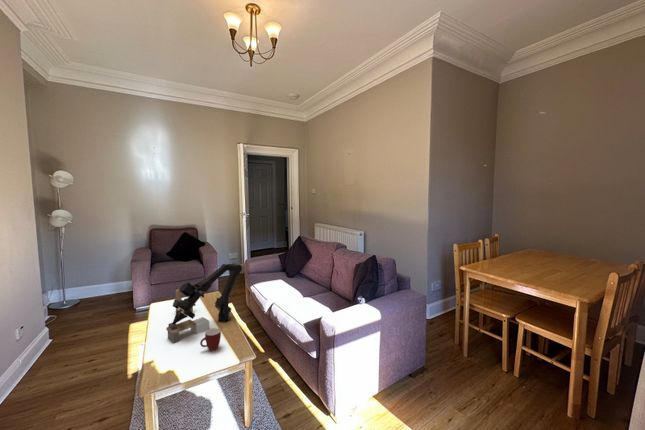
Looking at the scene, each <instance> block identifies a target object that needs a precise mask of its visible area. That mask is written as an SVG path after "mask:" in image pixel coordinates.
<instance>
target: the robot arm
mask: <svg viewBox="0 0 645 430" xmlns="http://www.w3.org/2000/svg"><path fill="white" fill-rule="evenodd" d="M242 270H243V266H242V265H241V264H239V263H236V262H234V263H223V264H221V266H220V267H218V268H217V269H216V270H215V271H214V272H212V273H211V274H210V275H209V276H207V277H206V278H203V279H201V280H200V281H198V282H197V283H195V284H193V285H192V283H190V282H189V281H187V282H186V283H183V284H182V285H181V286H180V287H179V288H178V289H179V292H181V295H182V294H183V296H185V298H184V299H182V300H179V299H176V298H175V299H174V300H173V303H172V307H174V308H175V317H174V319H173V321H172V323H173V324H175V323H176V324H178V323H180V321H182V320H184V319H186V318H188V317H189V318H190V319H191V320H192V319H193V320H194V319H195V317H196V314H195V312H194V311H193V312H191V308H192V307H193V308H194V307H196V303H197V302H198V301H199V299H200V298H205V295H204V294H205V292H208V291H209V289H211V287H212V285H213V284H214V282H215V281H216V280H218V279H219V278H220V277H221V276H222V275H223V274H226V272H227V271H228V278H227V280H226V283H225V285H224V288H223V291H222V294H221V296H220V297H217V298H216V301H215V302H214V304H215V305H214V307H215V308H216V309H217V311H218V314H217V315H218V316H217V317H218V321H217V322H218V323H222V322H223V323H228V322H229V321H230V319H231V318H232V317H231V316H230V315H231V314H230V313H231V311H232V307H230V306H229V303H230V300H229V298H230V296H231V295H230V294H231V292H232V289H233V287H234V284H235V282H236V279H237V278H238V276H240V274H241V272H242ZM176 309H177V310H176ZM183 310H184V311H183Z"/></svg>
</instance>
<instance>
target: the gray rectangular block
mask: <svg viewBox="0 0 645 430" xmlns="http://www.w3.org/2000/svg"><path fill="white" fill-rule="evenodd" d="M192 321H193V322H195V323H196V326H194V327H191V328H190V331H191V332H193V333H195V334H196V335H197V334H201V333H203V332H206V331H207V330H209V329H210V320H209V319H207V318H206V317H204V316H201V317H199V318H196V319H193V320H192ZM167 339H168V340H169V341H170V342H171V343H173V344H175V343H178V342H179V341H180V332H178V333H175V334H173V335H172V334H171V333H170V332H168V331H167Z"/></svg>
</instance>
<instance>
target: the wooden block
mask: <svg viewBox="0 0 645 430" xmlns="http://www.w3.org/2000/svg"><path fill="white" fill-rule="evenodd" d="M179 289H180V288H178V289H176V290H175V299H179V300H183V298H182V293H181V292H179ZM176 310H177V309H176V308H175V311H176ZM183 311H184V310H183ZM191 312H193V313H194V306H193V307H192V308H191Z"/></svg>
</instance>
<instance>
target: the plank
mask: <svg viewBox="0 0 645 430" xmlns="http://www.w3.org/2000/svg"><path fill="white" fill-rule="evenodd" d="M167 325H168V327H166V329H165V330H166V331H167V333H168V332H170V333H171V334H172V335H173V334H175V333H178V332H179V333H180V332H183V331H186V330H188V329H191V327H194V326H196V323H195V322H193V320H192V319H191V318H190V319H187V320H184V321H182V322H177V323H175V324H173V322H170V323H168V324H167Z"/></svg>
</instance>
